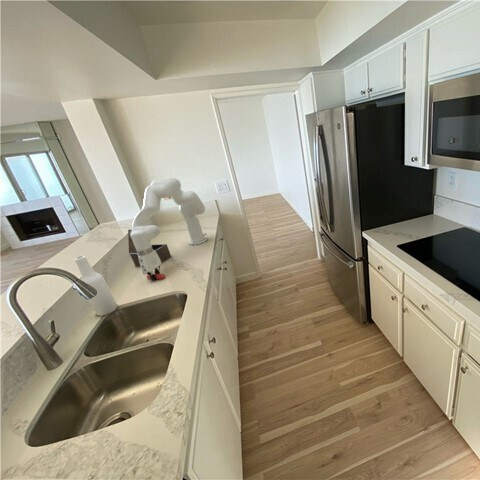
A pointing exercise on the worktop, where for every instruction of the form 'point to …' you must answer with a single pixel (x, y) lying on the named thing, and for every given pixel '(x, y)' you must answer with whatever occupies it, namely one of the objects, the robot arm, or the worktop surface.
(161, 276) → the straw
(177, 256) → the worktop surface
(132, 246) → the bin lid
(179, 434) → the worktop surface
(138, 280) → the worktop surface
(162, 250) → the bin
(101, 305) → the alcohol
